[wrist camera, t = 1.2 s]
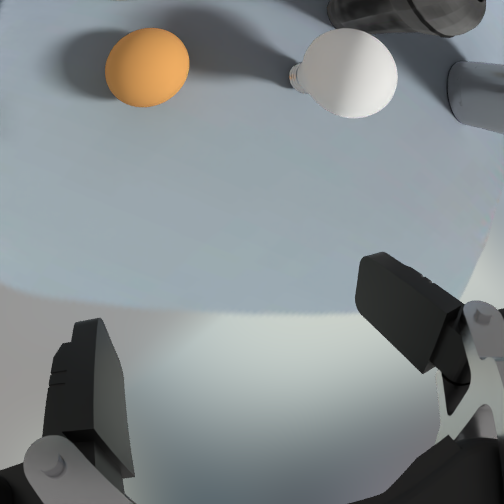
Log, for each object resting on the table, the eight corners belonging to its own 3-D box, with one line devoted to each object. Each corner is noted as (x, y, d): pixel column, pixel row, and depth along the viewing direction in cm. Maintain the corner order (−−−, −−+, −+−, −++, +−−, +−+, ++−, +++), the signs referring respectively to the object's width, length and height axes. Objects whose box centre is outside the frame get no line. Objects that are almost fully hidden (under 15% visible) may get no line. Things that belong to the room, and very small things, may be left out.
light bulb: (252, 60, 23) (317, 34, 13) (313, 35, 23) (395, 13, 14) (285, 125, 26) (360, 139, 17) (341, 97, 26) (427, 103, 17)
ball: (180, 33, 20) (190, 11, 15) (188, 100, 23) (200, 96, 18) (106, 47, 18) (95, 29, 13) (115, 115, 21) (105, 116, 16)
